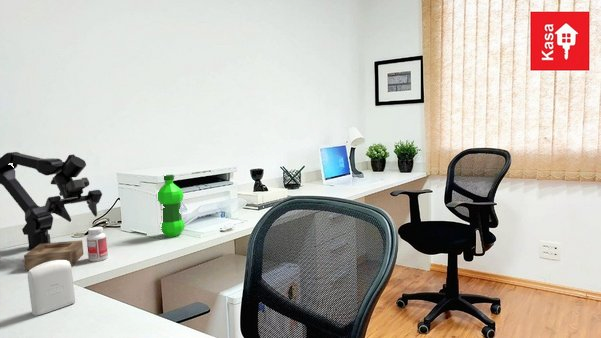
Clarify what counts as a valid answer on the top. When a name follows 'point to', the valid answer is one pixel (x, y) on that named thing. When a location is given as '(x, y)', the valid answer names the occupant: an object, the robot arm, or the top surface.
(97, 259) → the pill bottle
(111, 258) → the top surface
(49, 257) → the wooden tray
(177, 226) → the plastic bottle
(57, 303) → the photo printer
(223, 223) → the top surface
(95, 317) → the top surface
